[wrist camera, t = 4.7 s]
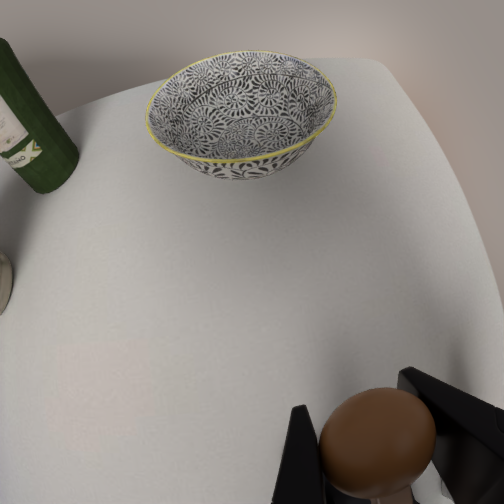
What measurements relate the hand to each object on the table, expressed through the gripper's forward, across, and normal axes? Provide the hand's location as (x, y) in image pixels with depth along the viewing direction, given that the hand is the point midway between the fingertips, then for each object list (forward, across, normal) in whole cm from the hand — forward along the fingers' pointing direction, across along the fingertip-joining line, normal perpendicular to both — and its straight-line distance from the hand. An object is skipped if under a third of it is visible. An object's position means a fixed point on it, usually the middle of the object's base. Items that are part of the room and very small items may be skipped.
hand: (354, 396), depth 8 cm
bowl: (+25, 0, -7) cm, 26 cm away
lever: (-3, 0, +5) cm, 6 cm away
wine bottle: (+30, +23, -12) cm, 40 cm away
